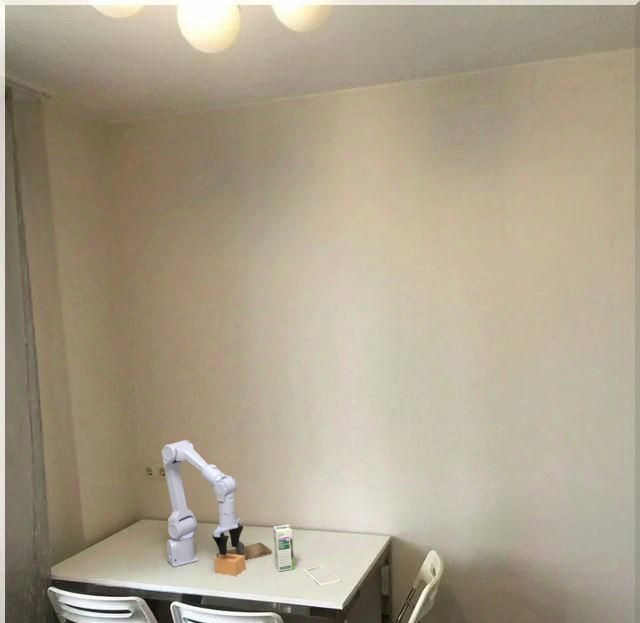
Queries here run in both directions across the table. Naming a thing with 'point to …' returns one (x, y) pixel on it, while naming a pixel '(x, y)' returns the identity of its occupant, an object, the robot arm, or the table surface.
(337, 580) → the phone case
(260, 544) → the brown piece
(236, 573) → the collar
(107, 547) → the table surface
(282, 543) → the syrup box
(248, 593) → the table surface
